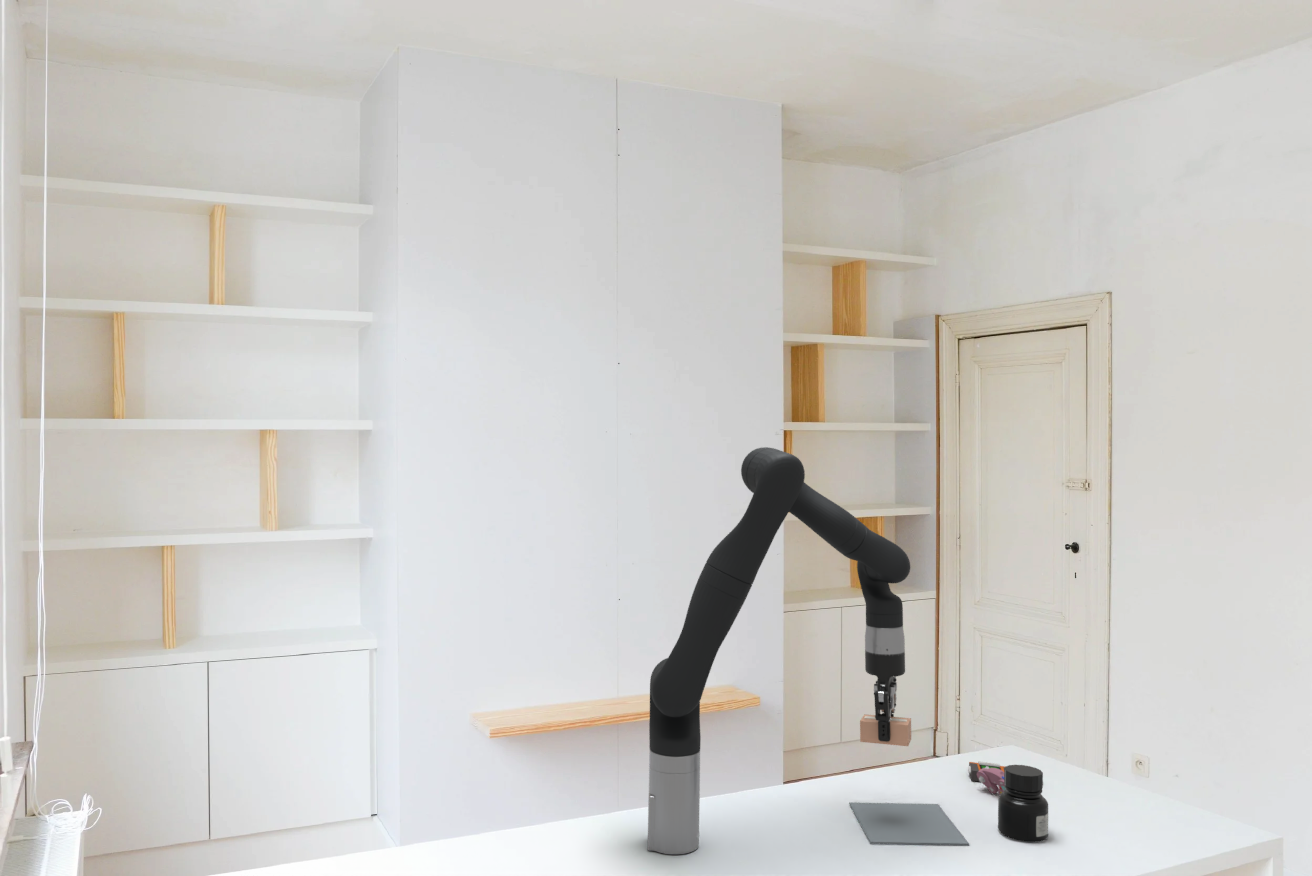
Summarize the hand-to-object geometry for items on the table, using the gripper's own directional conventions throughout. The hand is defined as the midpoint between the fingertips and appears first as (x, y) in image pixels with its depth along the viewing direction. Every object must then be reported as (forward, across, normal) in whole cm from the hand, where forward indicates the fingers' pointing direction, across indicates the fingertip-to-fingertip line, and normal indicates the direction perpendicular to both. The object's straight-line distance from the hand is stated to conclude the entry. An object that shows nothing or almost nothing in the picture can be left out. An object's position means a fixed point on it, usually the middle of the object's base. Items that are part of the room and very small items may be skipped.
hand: (886, 736), depth 188 cm
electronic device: (+18, +35, -21) cm, 45 cm away
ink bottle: (+18, +4, -24) cm, 30 cm away
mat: (+17, 0, -3) cm, 17 cm away
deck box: (+1, 0, 0) cm, 1 cm away
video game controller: (+18, +24, -20) cm, 36 cm away
